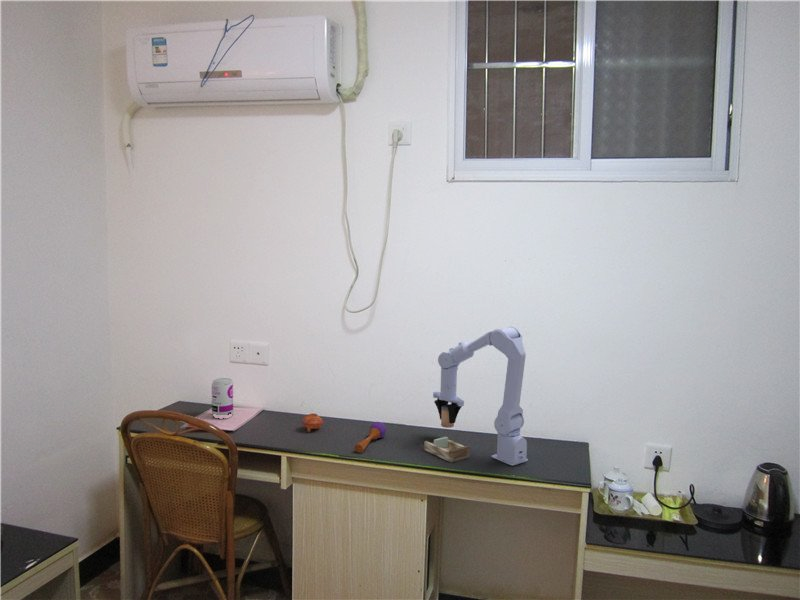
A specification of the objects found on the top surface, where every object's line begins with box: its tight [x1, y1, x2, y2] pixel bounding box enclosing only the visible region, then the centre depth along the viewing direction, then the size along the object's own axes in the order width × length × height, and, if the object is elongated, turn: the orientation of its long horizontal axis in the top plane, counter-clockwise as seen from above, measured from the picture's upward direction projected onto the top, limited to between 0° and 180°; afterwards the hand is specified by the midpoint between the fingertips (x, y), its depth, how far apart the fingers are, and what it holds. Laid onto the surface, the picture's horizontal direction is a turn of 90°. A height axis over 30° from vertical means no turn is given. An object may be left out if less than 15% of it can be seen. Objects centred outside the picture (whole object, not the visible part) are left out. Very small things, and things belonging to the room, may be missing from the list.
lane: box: [423, 436, 471, 463], centre depth 199 cm, size 14×8×4 cm, turn 37°
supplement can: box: [211, 377, 234, 415], centre depth 233 cm, size 8×8×15 cm
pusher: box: [433, 436, 449, 448], centre depth 201 cm, size 1×6×3 cm, turn 127°
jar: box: [440, 405, 455, 429], centre depth 211 cm, size 5×5×7 cm
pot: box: [301, 412, 324, 433], centre depth 220 cm, size 8×8×7 cm
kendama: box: [354, 421, 387, 454], centre depth 207 cm, size 6×6×20 cm
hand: (447, 421), depth 212 cm, fingers closed on jar, 5 cm apart
